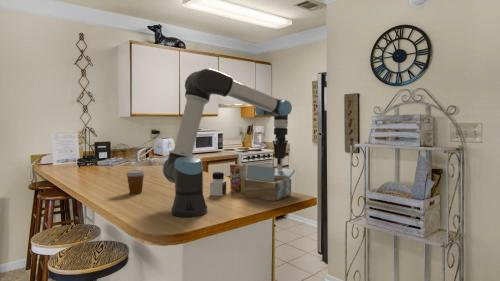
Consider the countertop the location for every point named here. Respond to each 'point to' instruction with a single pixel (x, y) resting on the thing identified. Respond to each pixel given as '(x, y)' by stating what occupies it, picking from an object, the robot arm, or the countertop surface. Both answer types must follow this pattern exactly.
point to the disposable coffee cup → (135, 181)
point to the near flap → (260, 173)
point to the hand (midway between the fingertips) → (279, 170)
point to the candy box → (237, 178)
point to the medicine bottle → (218, 184)
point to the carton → (268, 188)
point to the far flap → (284, 173)
